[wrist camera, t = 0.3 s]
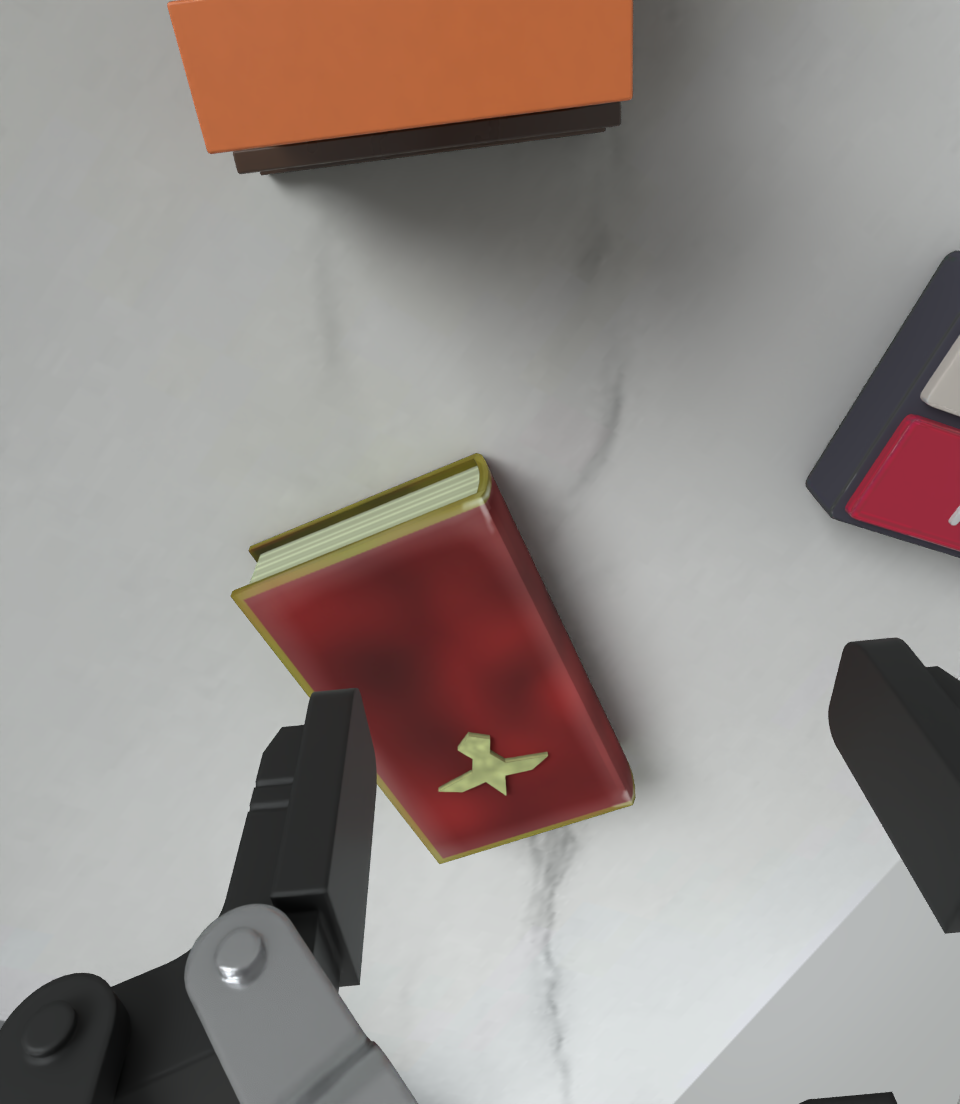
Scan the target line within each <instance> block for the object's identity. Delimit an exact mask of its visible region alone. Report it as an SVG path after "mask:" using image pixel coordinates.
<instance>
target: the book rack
mask: <svg viewBox="0 0 960 1104" xmlns="http://www.w3.org/2000/svg"><path fill="white" fill-rule="evenodd" d="M620 124H621V103H620V102H612V103H604V104H596V105H588V106H581V107H573V108H565V109H557V110H549V111H542V112H534V113H526V114H518V115H510V116H503V117H495V118H487V119H479V120H472V121H464V122H456V123H448V124H440V125H433V126H425V127H417V128H409V129H401V130H394V131H386V132H378V133H370V134H363V135H355V136H347V137H339V138H331V139H324V140H316V141H308V142H300V143H292V144H285V145H277V146H269V147H261V148H253V149H246V150H238V151H233V156H234V160H235V164H236V168H237V171H238V173H239V174H245V173H253V172H260V174H261V175H268V174H276V173H284V172H292V171H300V170H308V169H315V168H323V167H331V166H339V165H347V164H355V163H362V162H370V161H378V160H386V159H394V158H402V157H409V156H417V155H425V154H433V153H441V152H449V151H456V150H464V149H472V148H480V147H488V146H496V145H503V144H511V143H519V142H527V141H535V140H543V139H550V138H558V137H566V136H574V135H582V134H590V133H597V132H604V131H605V130H606V127H613V126H619V125H620Z"/></svg>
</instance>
